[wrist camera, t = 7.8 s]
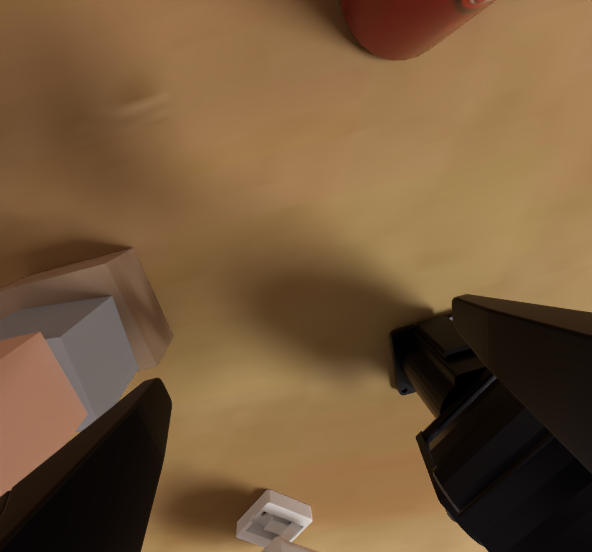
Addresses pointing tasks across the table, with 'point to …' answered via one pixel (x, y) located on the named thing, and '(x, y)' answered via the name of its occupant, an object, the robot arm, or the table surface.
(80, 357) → the grey cube
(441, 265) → the table surface
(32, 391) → the terracotta cube
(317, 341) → the table surface
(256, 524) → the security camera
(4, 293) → the translucent square block
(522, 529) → the robot arm
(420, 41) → the soda can
